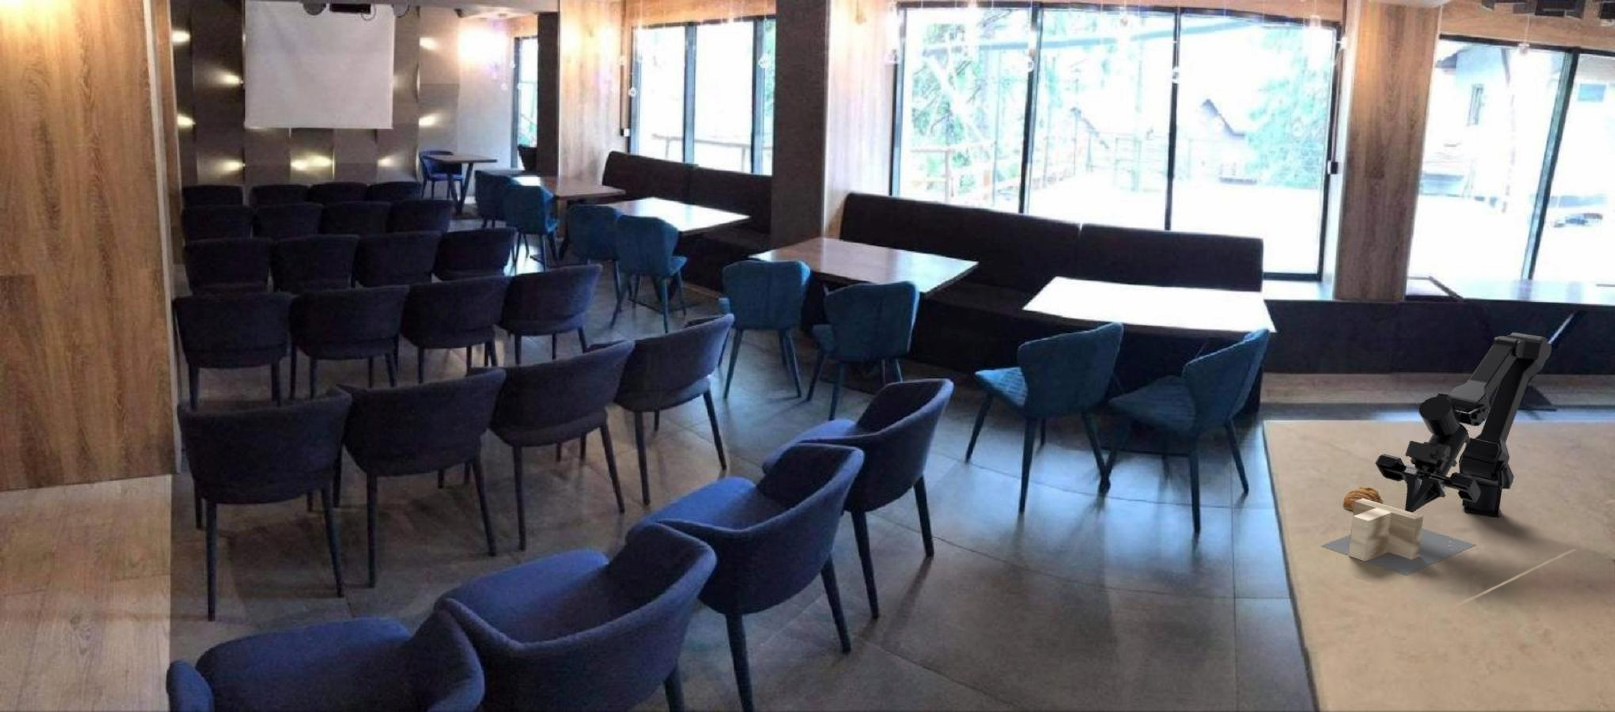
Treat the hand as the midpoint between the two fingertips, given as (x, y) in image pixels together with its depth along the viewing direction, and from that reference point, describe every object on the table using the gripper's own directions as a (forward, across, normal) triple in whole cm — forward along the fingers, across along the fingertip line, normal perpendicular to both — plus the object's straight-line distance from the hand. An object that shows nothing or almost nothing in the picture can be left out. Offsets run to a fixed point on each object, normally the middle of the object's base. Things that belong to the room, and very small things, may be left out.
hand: (1407, 512), depth 229 cm
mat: (+7, +1, +1) cm, 7 cm away
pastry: (-4, -16, +13) cm, 21 cm away
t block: (+12, 0, -4) cm, 13 cm away
